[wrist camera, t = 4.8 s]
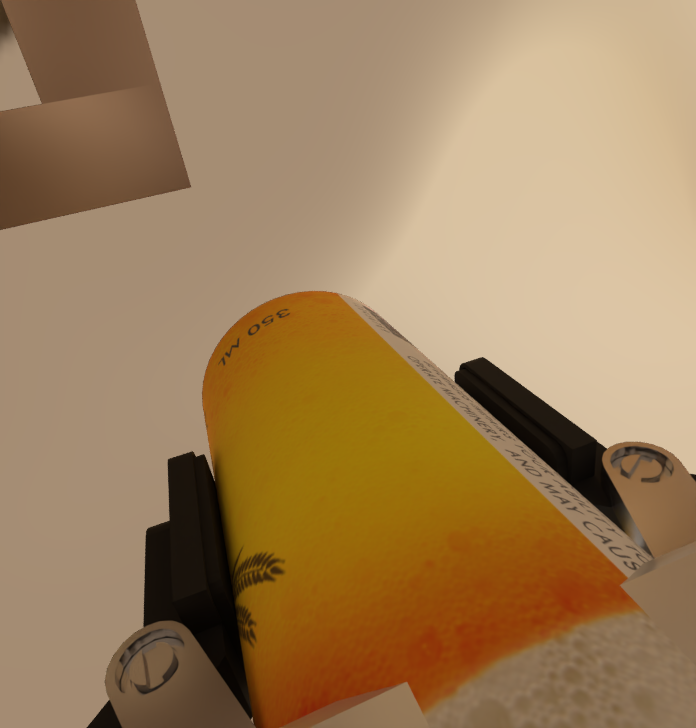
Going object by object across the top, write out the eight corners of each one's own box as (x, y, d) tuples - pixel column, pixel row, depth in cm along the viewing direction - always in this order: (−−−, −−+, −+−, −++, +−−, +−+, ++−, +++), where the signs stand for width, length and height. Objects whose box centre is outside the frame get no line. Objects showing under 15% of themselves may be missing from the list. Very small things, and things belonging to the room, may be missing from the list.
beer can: (160, 416, 15) (179, 2033, 2) (274, 241, 14) (1381, 1404, 1) (322, 485, 18) (722, 1373, 5) (427, 343, 17) (1239, 1022, 4)
